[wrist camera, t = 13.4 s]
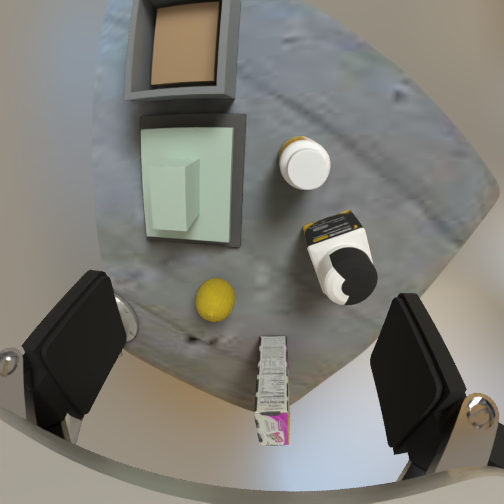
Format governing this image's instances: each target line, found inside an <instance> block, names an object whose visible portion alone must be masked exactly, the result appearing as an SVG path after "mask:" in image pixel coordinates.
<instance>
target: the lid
mask: <svg viewBox="0 0 504 504" xmlns="http://www.w3.org/2000/svg"><path fill="white" fill-rule="evenodd" d="M233 138H234V128H228V127H178V128H154V129H142V130H141V161H142V183H143V198H144V211H145V223H146V233H147V236H151V237H164V238H178V239H191V240H204V241H217V242H229V241H230V227H231V192H232V163H233Z"/></svg>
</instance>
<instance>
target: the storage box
mask: <svg viewBox="0 0 504 504" xmlns="http://www.w3.org/2000/svg"><path fill="white" fill-rule="evenodd" d="M240 12H241V1H240V0H133V5H132V11H131V18H130V26H129V35H128V45H127V56H126V71H125V93H124V100H132V101H165V100H181V99H235V92H236V74H237V56H238V40H239V26H240Z"/></svg>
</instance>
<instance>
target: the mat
mask: <svg viewBox="0 0 504 504" xmlns="http://www.w3.org/2000/svg"><path fill="white" fill-rule="evenodd" d="M178 127H228V128H234V138H233V163H232V192H231V227H230V241H229V242H217V241H204V240H191V239H178V238H164V237H151V236H147V233H146V237H147V240H153V241H166V242H179V243H192V244H205V245H218V246H231V247H240V246H241V224H242V199H243V176H244V154H245V133H246V114H223V113H203V114H171V115H154V116H142V117H140V146H141V130H142V129H154V128H178ZM141 174H142V161H141ZM142 191H143V183H142ZM143 205H144V198H143ZM144 216H145V211H144ZM145 227H146V223H145Z"/></svg>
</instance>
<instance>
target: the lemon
mask: <svg viewBox="0 0 504 504" xmlns="http://www.w3.org/2000/svg"><path fill="white" fill-rule="evenodd" d="M234 302H235V294H234V291H233V288H232V287H231V285H230V284H229V283H228V282H227V281H225V280H223V279H219V278H214V279H210V280H207V281H206V282H204V283H203V284H202V285H201V287H200V288H199V290H198V292H197V295H196V308H197V311H198V313H199V315H200V316H201V317H202V318H204V319H205V320H207V321H210V322H218V321H221V320H223V319H225V318H226V317H227V316H228V315H229V314H230V312H231V311H232V309H233V306H234Z"/></svg>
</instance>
